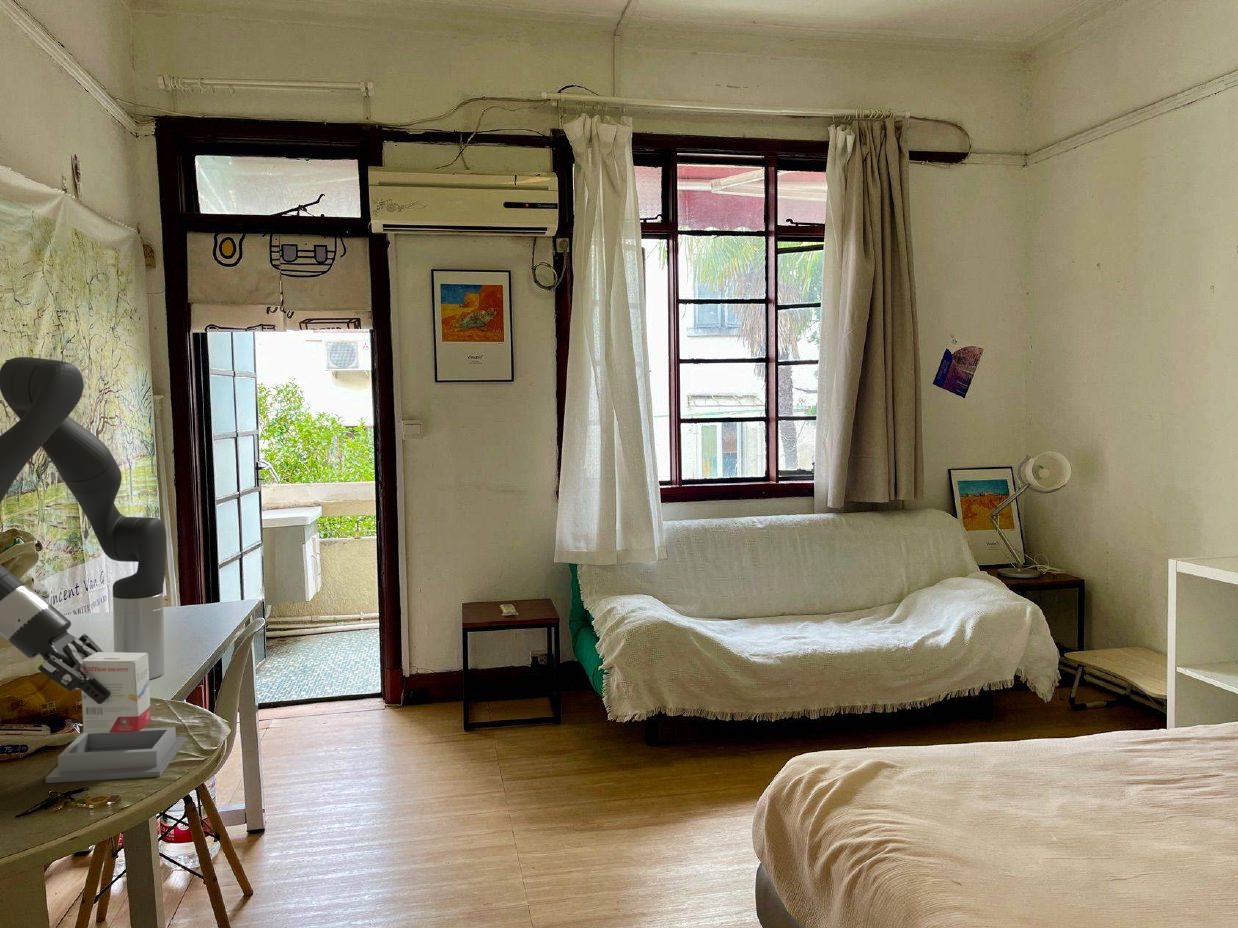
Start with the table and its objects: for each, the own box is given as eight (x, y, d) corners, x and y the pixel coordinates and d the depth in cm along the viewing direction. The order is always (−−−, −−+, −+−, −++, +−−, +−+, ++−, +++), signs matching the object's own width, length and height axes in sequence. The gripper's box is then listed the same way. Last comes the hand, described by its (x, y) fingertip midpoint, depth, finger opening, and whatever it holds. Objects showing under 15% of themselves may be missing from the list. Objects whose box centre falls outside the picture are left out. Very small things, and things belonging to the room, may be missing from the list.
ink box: (152, 721, 144) (151, 651, 143) (137, 734, 139) (136, 661, 138) (97, 721, 143) (96, 650, 142) (80, 733, 138) (78, 660, 137)
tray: (82, 746, 147) (82, 727, 147) (185, 741, 150) (185, 722, 150) (45, 782, 133) (45, 761, 133) (159, 776, 136) (159, 755, 136)
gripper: (25, 615, 131) (114, 691, 134) (66, 594, 145) (145, 663, 148) (-14, 651, 130) (76, 726, 133) (30, 626, 144) (111, 695, 147)
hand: (112, 692), depth 141 cm, fingers closed on ink box, 5 cm apart
